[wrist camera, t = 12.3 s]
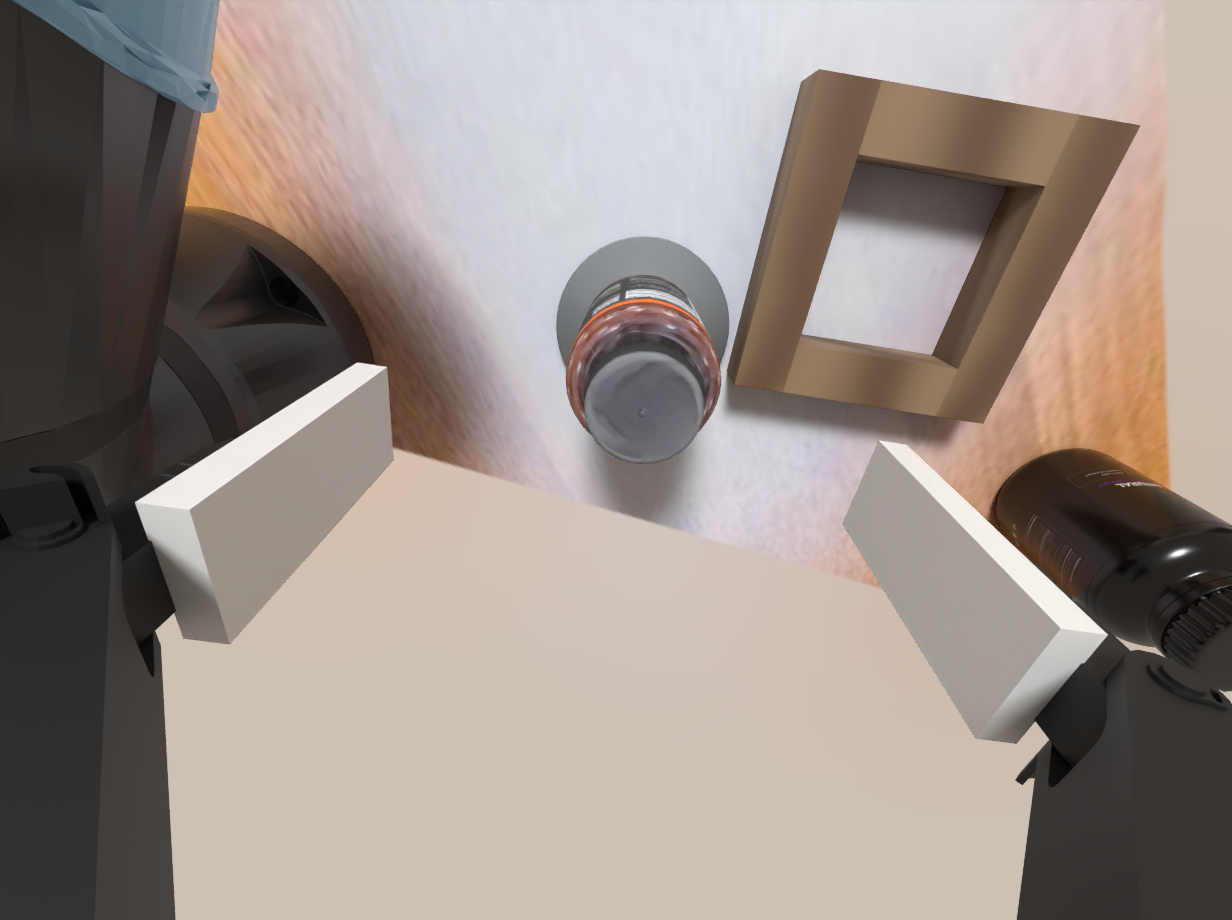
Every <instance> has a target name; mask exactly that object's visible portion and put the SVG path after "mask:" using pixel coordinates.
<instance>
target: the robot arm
mask: <svg viewBox="0 0 1232 920" xmlns="http://www.w3.org/2000/svg"><path fill="white" fill-rule="evenodd" d="M218 8H219V0H0V920H175V904H174V903H175V902H174V883H173V865H172V846H171V830H170V829H171V828H170V809H169V790H168V773H167V755H166V735H165V717H164V698H163V680H162V679H163V678H162V662H161V661H162V660H161V645H160V642H159V640H158V637H157V635H156V632H155V630H156V629H157V628H158V627H159V626H160V625H161V624H162V623H164V622H165V621H166V620H167V619H168V618H169V617H170V616H171V615H172V614H173V613H175V616H176V619H177V622H178V624H179V627H180V630H181V633H182V636H183V638H184V639H191V640H199V641H207V642H216V643H223V644H231V643H232V641H233V640H234V639H235V638H236V637H237V636H238V635H239V633H240V632H241V631H242V630H243V629H244V628H245V627H246V626H247V624H248V623H249V622H250V621H251V620H252V619H253V618H254V617H255V615H256V614H257V613H258V612H259V611H260V610H261V609H262V608H263V606H264V605H265V604H266V603H267V602H268V601H269V600H270V598H271V597H272V596H273V595H274V594H275V593H276V592H277V591H278V590H279V588H280V587H281V586H282V585H283V584H284V583H285V582H286V580H287V579H288V578H289V577H290V576H291V575H292V574H293V573H294V572H295V570H296V569H297V568H298V567H299V566H300V565H301V563H302V562H303V561H304V560H305V559H306V558H307V557H308V556H309V555H310V553H311V552H312V551H313V550H314V549H315V548H316V547H317V546H318V544H319V543H320V542H321V541H322V540H323V539H324V538H325V537H326V535H327V534H328V533H329V532H330V531H331V530H332V529H333V528H334V526H335V525H336V524H337V523H338V522H339V521H340V520H341V518H342V517H343V516H344V515H345V514H346V513H347V512H348V511H349V510H350V508H351V507H352V506H353V505H354V504H355V503H356V502H357V501H358V499H359V498H360V497H361V496H362V495H363V494H364V493H365V492H366V490H367V489H368V488H369V487H370V486H371V485H372V484H373V482H374V481H375V480H376V479H377V478H378V477H379V476H380V475H381V473H382V472H383V471H384V470H385V469H386V468H387V467H388V466H389V464H390V463H391V462H392V461H393V444H392V430H391V415H390V401H389V386H388V371H387V367H384V366H377V365H374V360H373V356H372V352H371V348H370V345H369V342H368V339H367V336H366V334H365V332H364V329H363V327H362V325H361V323H360V321H359V319H358V317H357V315H356V313H355V311H354V310H353V308H352V306H351V305H350V303H349V302H348V300H347V299H346V297H345V296H344V294H343V293H342V291H341V290H340V289H339V287H338V286H337V285H336V284H335V283H334V281H333V280H332V279H331V278H330V277H329V275H328V274H327V273H326V272H325V271H324V270H323V269H322V268H321V267H320V266H319V265H318V264H317V263H316V262H315V261H314V260H313V259H312V258H310V257H309V256H308V255H307V254H306V253H305V252H303V251H302V250H301V249H300V248H298V247H297V246H296V245H294V244H293V243H292V242H290V241H289V240H287V239H286V238H284V237H283V236H281V235H280V234H278V233H276V232H274V231H273V230H271V229H269V228H267V227H265V226H263V225H261V224H259V223H257V222H255V221H253V220H250V219H248V218H245V217H243V216H240V215H237V214H234V213H230V212H227V211H223V210H218V209H213V208H205V207H185V201H186V196H187V190H188V184H189V179H190V173H191V167H192V162H193V156H194V151H195V145H196V139H197V134H198V128H199V122H200V117H201V112H202V113H209V112H214V111H215V109H216V105H217V100H218V92H219V91H218V88H217V86H216V83H215V81H214V79H213V76H212V75H211V67H212V58H213V50H214V41H215V33H216V25H217V16H218ZM843 525H844V527H845V529H846V530H847V532H848V533H849V535H850V537H851V538H852V540H853V541H854V543H855V545H856V546H857V548H858V550H859V551H860V553H861V554H862V556H863V558H864V559H865V561H866V562H867V564H868V566H869V567H870V569H871V571H872V572H873V574H874V575H875V577H876V579H877V580H878V582H879V583H880V585H881V587H882V588H883V590H884V592H885V593H886V595H887V596H888V598H889V600H890V601H891V603H892V604H893V606H894V607H895V609H896V611H897V612H898V614H899V616H900V617H901V619H902V620H903V622H904V624H905V625H906V627H907V629H908V630H909V632H910V633H911V635H912V637H913V638H914V640H915V642H916V643H917V645H918V646H919V648H920V650H921V651H922V653H923V654H924V656H925V658H926V659H927V661H928V663H929V664H930V666H931V667H932V669H933V671H934V672H935V674H936V675H937V677H938V678H939V680H940V682H941V683H942V685H943V687H944V688H945V690H946V692H947V693H948V695H949V696H950V698H951V700H952V701H953V703H954V704H955V706H956V708H957V709H958V711H959V712H960V714H961V716H962V717H963V719H964V721H965V722H966V724H967V725H968V727H969V729H970V730H971V732H972V733H973V735H974V737H975V738H977V739H984V740H992V741H1000V742H1008V743H1015V744H1016V743H1017V742H1018V741H1019V740H1020V739H1021V738H1022V736H1023V735H1024V734H1025V733H1026V732H1027V731H1028V729H1029V728H1030V727H1031V726H1032V725H1033V723H1034V722H1035V721H1036V722H1037V724H1038V725H1039V726H1040V727H1041V729H1042V730H1043V732H1044V733H1045V734H1046V736H1047V737H1048V738H1049V741H1048V742H1047V743H1046V744H1045V745H1044V747H1043V748H1042V749H1041V750H1040V751H1039V752H1038V753H1037V754H1036V755H1035V757H1034V758H1033V759H1032V760H1031V761H1030V762H1029V763H1028V764H1027V766H1026V767H1025V768H1024V769H1023V770H1022V771H1021V772H1020V774H1019V775H1018V777H1017V779H1016V781H1017V782H1018V783H1020V784H1022V785H1023V784H1024V783H1025V782H1026V781H1027V780H1028V778H1035V781H1034V789H1033V797H1032V805H1031V813H1030V820H1029V828H1028V836H1027V844H1026V852H1025V859H1024V867H1023V876H1022V883H1021V892H1020V899H1019V907H1018V914H1017V920H1232V704H1231V702H1230V701H1229V699H1227V698H1226V697H1225V696H1224V694H1223V693H1221V692H1220V691H1219V690H1218V689H1217V688H1216V687H1215V686H1213V685H1212V684H1211V683H1209V682H1208V681H1206V680H1205V679H1203V678H1202V677H1201V676H1199V675H1198V674H1196V673H1195V672H1193V671H1191V670H1189V669H1188V668H1186V667H1184V666H1182V665H1180V664H1178V663H1177V662H1175V661H1173V660H1170V659H1168V658H1165V657H1162V656H1160V655H1157V654H1155V653H1151V652H1146V651H1141V650H1134V651H1130V650H1129V649H1128V648H1127V647H1126V646H1125V645H1124V644H1123V643H1121V642H1120V641H1119V640H1118V639H1117V638H1116V637H1115V636H1114V635H1113V634H1112V633H1111V632H1110V631H1109V630H1107V629H1106V628H1105V627H1104V626H1103V625H1102V624H1101V623H1100V622H1099V621H1098V620H1097V619H1096V618H1095V617H1094V616H1092V615H1091V614H1090V613H1089V612H1088V611H1087V610H1086V609H1085V608H1084V607H1083V606H1082V605H1081V604H1080V603H1079V602H1077V601H1073V599H1072V598H1073V597H1072V596H1071V595H1070V594H1069V593H1068V592H1067V591H1066V590H1065V589H1064V588H1062V587H1061V586H1058V585H1057V582H1056V581H1055V580H1054V579H1053V578H1052V577H1051V576H1050V575H1049V574H1047V573H1046V572H1045V571H1044V570H1043V569H1042V568H1041V567H1040V566H1039V565H1038V564H1036V563H1035V562H1033V561H1032V560H1030V559H1029V558H1027V557H1026V556H1024V555H1023V554H1022V553H1021V552H1020V551H1019V550H1018V549H1016V548H1015V547H1014V546H1013V545H1012V544H1011V543H1010V542H1009V541H1008V540H1007V539H1006V538H1005V537H1004V536H1003V535H1002V534H1001V533H1000V532H998V531H997V530H996V529H995V528H994V527H993V526H992V525H991V524H990V523H989V522H988V521H987V520H986V519H985V518H984V517H983V516H981V515H980V514H979V513H978V512H977V511H976V510H975V509H974V508H973V507H972V506H971V505H970V504H969V503H968V502H967V501H966V500H965V499H963V498H962V497H961V496H960V495H959V494H958V493H957V492H956V491H955V490H954V489H953V488H952V487H951V486H950V485H949V484H948V483H947V482H945V481H944V480H943V479H942V478H941V477H940V476H939V475H938V474H937V473H936V472H935V471H934V470H933V469H932V468H931V467H930V466H928V465H927V464H926V463H925V462H924V461H923V460H922V459H921V458H920V457H919V456H918V455H917V454H916V453H915V452H914V451H913V450H912V449H910V448H909V447H908V446H907V445H906V444H899V443H892V442H886V441H878V443H877V446H876V448H875V450H874V453H873V455H872V457H871V460H870V462H869V464H868V466H867V469H866V471H865V473H864V476H863V478H862V480H861V482H860V485H859V487H858V489H857V492H856V494H855V496H854V499H853V501H852V503H851V505H850V508H849V510H848V512H847V515H846V517H845V519H844V522H843Z"/></svg>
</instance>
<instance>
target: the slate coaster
mask: <svg viewBox="0 0 1232 920" xmlns="http://www.w3.org/2000/svg"><path fill="white" fill-rule="evenodd" d="M640 274H641V275H653V276H658V277H661V278H663V279H666V280H668V281H669V282H671V283H673V284H675V285H676V286H677V287H679V288H680V289H681V290H682V291H683V292H684V293H685V294H686V296H687V297H688V298H689V300H690V301H691V303H692V304H693V306H694V308H695V310H696V312H697V313H698V315H699V317H700V319H701V321H702V323H703V325H704V327H705V329H706V331H707V332H708V334H709V336H710V338H711V340H712V342H713V345H714V347H715V349H716V352H717V355H718V358H719V363H720V361H721V359H722V356H723V354H724V351H725V348H726V344H727V339H728V334H729V314H728V307H727V302H726V298H725V295H724V293H723V290H722V287H721V286H720V284H719V282H718V280H717V278H716V276H715V275H714V274H713V272H712V271H711V270H710V268H709V267H708V266H707V265H706V264H705V263H704V262H703V261H702V260H701V259H700V258H699V257H698V256H697V255H695V254H694V253H693V252H692V251H690V250H689V249H687V248H685V247H683V246H682V245H680V244H677V243H675V242H672V241H670V240H666V239H661V238H657V237H646V236H645V237H631V238H626V239H622V240H619V241H616V242H613V243H610V244H608V245H606V246H604V247H602V248H600V249H599V250H597V251H596V252H595V253H593V254H592V255H590V256H589V257H588V258H587V259H586V260H585V261H584V262H583V263H582V264H581V265H580V266H579V267H578V269H577V270H576V271H575V272H574V273H573V275H572V276H571V278H570V280H569V281H568V283H567V285H566V287H565V289H564V291H563V293H562V296H561V299H560V303H559V306H558V313H557V327H556V329H557V339H558V344H559V348H560V352H561V354H562V357H563V360H564V362H565V364H566V366H567V364H568V358H569V354H570V351H571V349H572V346H573V344H574V340H575V339H576V336H577V334H578V332H579V330H580V327H581V325H582V322H583V320H584V318H585V316H586V314H587V311H588V310H589V308H590V305H591V304H592V302H593V301H594V299H595V298H596V297H597V296H598V295H599V294H600V293H601V292H602V291H603V290H604V289H605V288H606V287H607V286H609V285H610V284H612V283H613V282H615V281H617V280H619V279H621V278H624V277H627V276H631V275H640Z"/></svg>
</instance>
